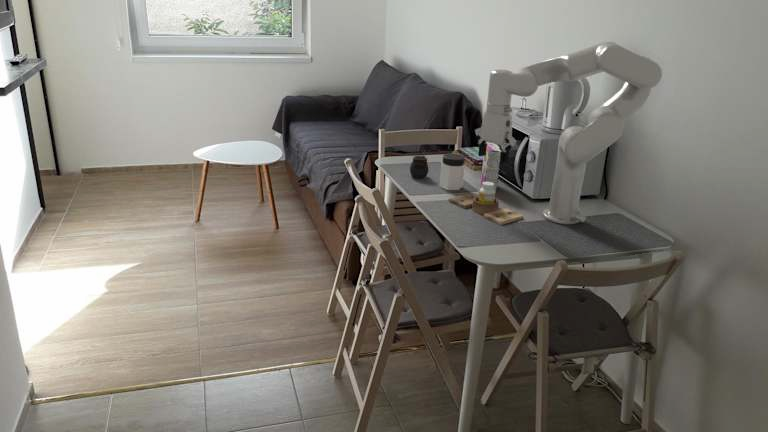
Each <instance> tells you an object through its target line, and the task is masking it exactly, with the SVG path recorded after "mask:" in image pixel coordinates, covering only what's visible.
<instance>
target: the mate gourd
mask: <svg viewBox="0 0 768 432" xmlns="http://www.w3.org/2000/svg"><path fill="white" fill-rule="evenodd" d="M425 154H426V150H423V153H422V155H414V156H412V162H411V163H410V165H409V172H410V175H411V177H413V178H414V179H425V178H426V177H427V176H428V174H429V165H428V157H427V156H425Z"/></svg>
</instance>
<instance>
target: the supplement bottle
mask: <svg viewBox="0 0 768 432" xmlns="http://www.w3.org/2000/svg"><path fill="white" fill-rule="evenodd" d="M493 188H494V183H492V182H483V183H482V185H481V188H479V192H478V193H479V194H478V196H479V200H478V202H480V203H484V204H493V203H494V198H496V193H495V190H494V189H493Z"/></svg>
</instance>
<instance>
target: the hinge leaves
mask: <svg viewBox="0 0 768 432" xmlns="http://www.w3.org/2000/svg"><path fill="white" fill-rule="evenodd" d="M478 200H479V195H476V194H474V193H471V192H469V193H466V194H461V195H457V196H454V197H449V198H448V202H449V203H451V204H454V205H456V206H458V207H461V208H463V209H467V208H471V207H472V209H471V210H472V211H473V212H476V213H477V214H479V215H480V214H481V215H483V216H482V217H483V218H485V219H488V220H490V221H492V222H493V223H496V224H499V225H501V226H502V225H506V224H508V223H513V222H515V221H518V220H523V219H524V215H523V214H521V213H519V212H516V211H513V210H511V209H508V208H506V207H504V208H501V209H499V205H500V202H499V201H500V200H499V199H498V198H496V197H495V198H494V203H493V204H484V203H480V202H478Z"/></svg>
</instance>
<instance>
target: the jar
mask: <svg viewBox="0 0 768 432" xmlns="http://www.w3.org/2000/svg"><path fill="white" fill-rule="evenodd" d="M465 161H466V157H465V156H464V155H462V154H459V153H445V154H443V155H442V162H441V165H440V173H439V184H438V187H439V188H441V189H444V190H446V191H460V189H462V188H463V183H464V175H465V167H466V163H465Z"/></svg>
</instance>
